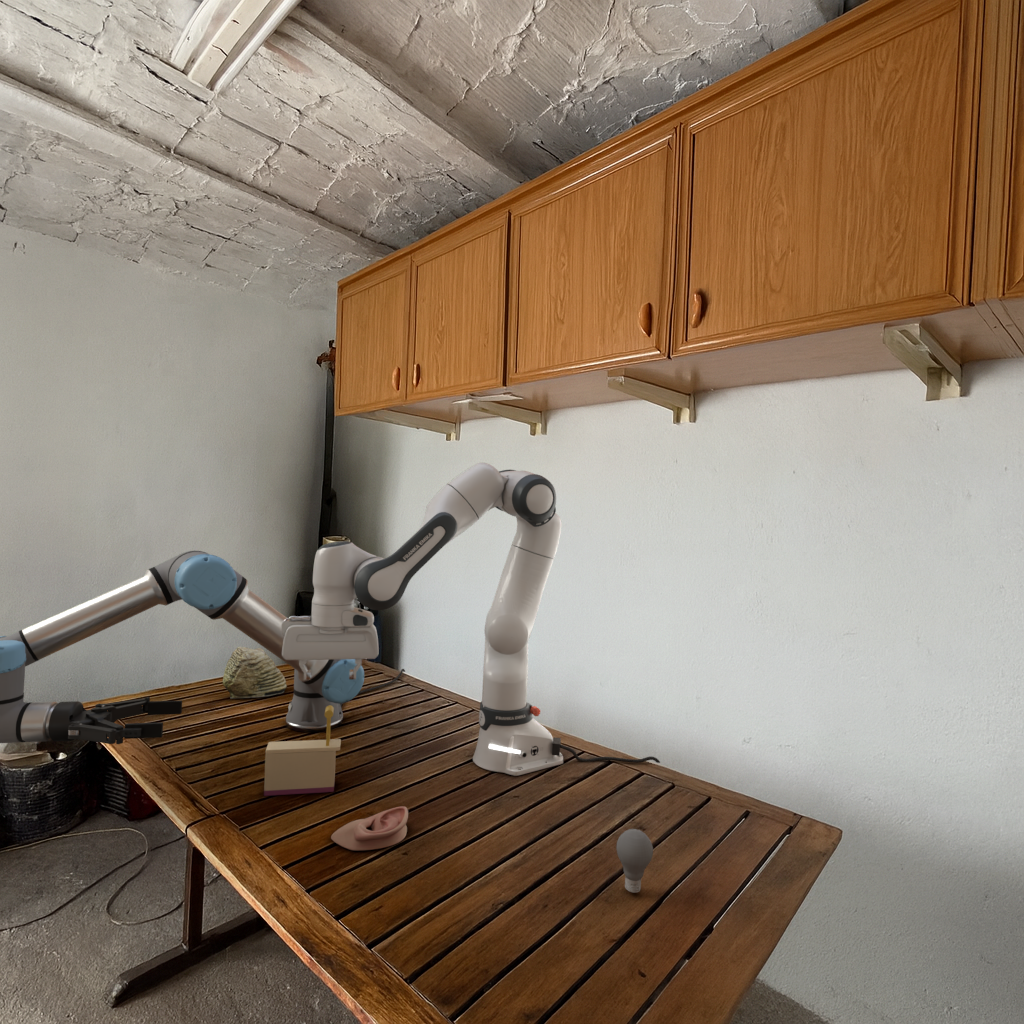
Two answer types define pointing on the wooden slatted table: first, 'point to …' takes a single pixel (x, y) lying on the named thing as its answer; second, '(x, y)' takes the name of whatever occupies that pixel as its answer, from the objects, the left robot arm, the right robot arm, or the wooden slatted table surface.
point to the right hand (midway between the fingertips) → (330, 679)
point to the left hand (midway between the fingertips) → (172, 717)
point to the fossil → (252, 674)
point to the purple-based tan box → (299, 773)
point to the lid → (308, 741)
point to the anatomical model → (374, 830)
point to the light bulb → (634, 857)
